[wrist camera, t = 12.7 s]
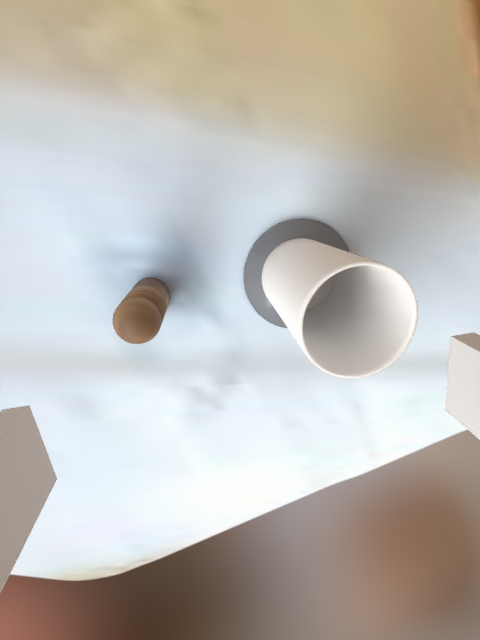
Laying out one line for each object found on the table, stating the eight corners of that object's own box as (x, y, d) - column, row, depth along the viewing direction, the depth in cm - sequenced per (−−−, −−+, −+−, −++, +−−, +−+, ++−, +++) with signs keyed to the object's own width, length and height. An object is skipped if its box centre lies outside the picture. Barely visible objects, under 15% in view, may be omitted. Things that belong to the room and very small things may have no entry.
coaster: (223, 254, 38) (223, 255, 38) (323, 197, 37) (325, 197, 37) (274, 345, 42) (275, 346, 41) (366, 294, 41) (368, 296, 41)
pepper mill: (124, 289, 38) (97, 319, 28) (156, 271, 38) (140, 295, 28) (145, 320, 40) (126, 359, 30) (176, 302, 39) (167, 336, 29)
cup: (336, 235, 38) (424, 257, 23) (334, 309, 41) (412, 373, 26) (260, 240, 37) (298, 266, 22) (262, 315, 40) (299, 384, 25)
